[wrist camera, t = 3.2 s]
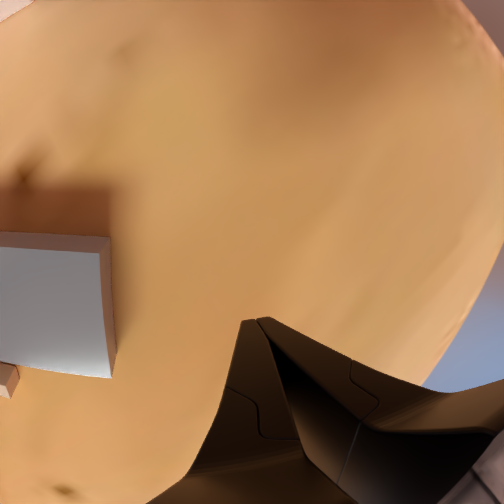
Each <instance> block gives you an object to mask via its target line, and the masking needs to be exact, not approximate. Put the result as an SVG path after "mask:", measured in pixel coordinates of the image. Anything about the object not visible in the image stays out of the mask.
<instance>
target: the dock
mask: <svg viewBox="0 0 504 504" xmlns="http://www.w3.org/2000/svg"><path fill="white" fill-rule="evenodd" d="M19 380H20V378H19V375H18V372H17V369H16V366H12V365H8V364H4V363H0V396H3V397H6V398H10V399H11V397H12V394H13V392H14V390H15V388H16V386H17V384H18V382H19Z"/></svg>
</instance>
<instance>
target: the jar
mask: <svg viewBox="0 0 504 504" xmlns="http://www.w3.org/2000/svg"><path fill="white" fill-rule="evenodd" d="M33 1H34V0H0V22H2V21H3V20H5V19H6V18H8V17H10V16H11V15H13V14H14V13H16V12H18V11H19V10H21V9H23V8H24V7H26V6H28V5H30V4H31V3H33Z"/></svg>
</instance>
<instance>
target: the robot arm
mask: <svg viewBox="0 0 504 504" xmlns="http://www.w3.org/2000/svg"><path fill="white" fill-rule="evenodd" d="M146 504H504V379H502V380H499V381H496V382H493V383H489V384H486V385H483V386H479V387H476V388H472V389H468V390H464V391H460V392H455V393H443V392H437V391H433V390H430V389H427V388H424V387H421V386H418V385H415V384H412V383H409V382H406V381H403V380H400V379H398V378H395V377H392V376H389V375H387V374H384V373H382V372H379V371H377V370H375V369H372V368H370V367H368V366H366V365H363V364H361V363H359V362H357V361H355V360H352V359H351V358H349V357H347V356H345V355H343V354H341V353H339V352H337V351H335V350H333V349H331V348H329V347H327V346H325V345H323V344H321V343H319V342H317V341H315V340H313V339H311V338H309V337H307V336H305V335H304V334H302V333H300V332H298V331H296V330H294V329H292V328H290V327H288V326H286V325H284V324H283V323H281V322H279V321H277V320H275V319H273V318H271V317H262V318H257V319H256V320H255V319H249V320H243V321H242V322H241V324H240V328H239V332H238V336H237V340H236V344H235V348H234V352H233V356H232V360H231V364H230V368H229V372H228V376H227V380H226V384H225V388H224V391H223V395H222V399H221V402H220V405H219V408H218V411H217V414H216V416H215V418H214V421H213V423H212V426H211V428H210V430H209V432H208V434H207V436H206V438H205V440H204V442H203V444H202V446H201V448H200V450H199V452H198V454H197V456H196V458H195V460H194V462H193V464H192V466H191V467H190V469H189V471H188V472H187V473H186V475H185V476H184V477H183V478H182V479H181V480H180V481H178V482H177V483H175V484H174V485H173V486H171V487H170V488H168V489H167V490H165V491H164V492H163V493H161V494H160V495H158V496H157V497H155V498H154V499H152V500H151V501H149V502H148V503H146Z"/></svg>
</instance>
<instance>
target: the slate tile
mask: <svg viewBox="0 0 504 504" xmlns="http://www.w3.org/2000/svg"><path fill="white" fill-rule="evenodd" d="M116 354H117V347H116V338H115V328H114V316H113V303H112V285H111V252H110V237H102V236H84V235H66V234H47V233H28V232H8V231H0V361H2V362H7V363H11V364H16V365H21V366H26V367H32V368H37V369H43V370H49V371H55V372H62V373H69V374H76V375H84V376H93V377H103V378H112V374H113V369H114V364H115V359H116Z"/></svg>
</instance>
